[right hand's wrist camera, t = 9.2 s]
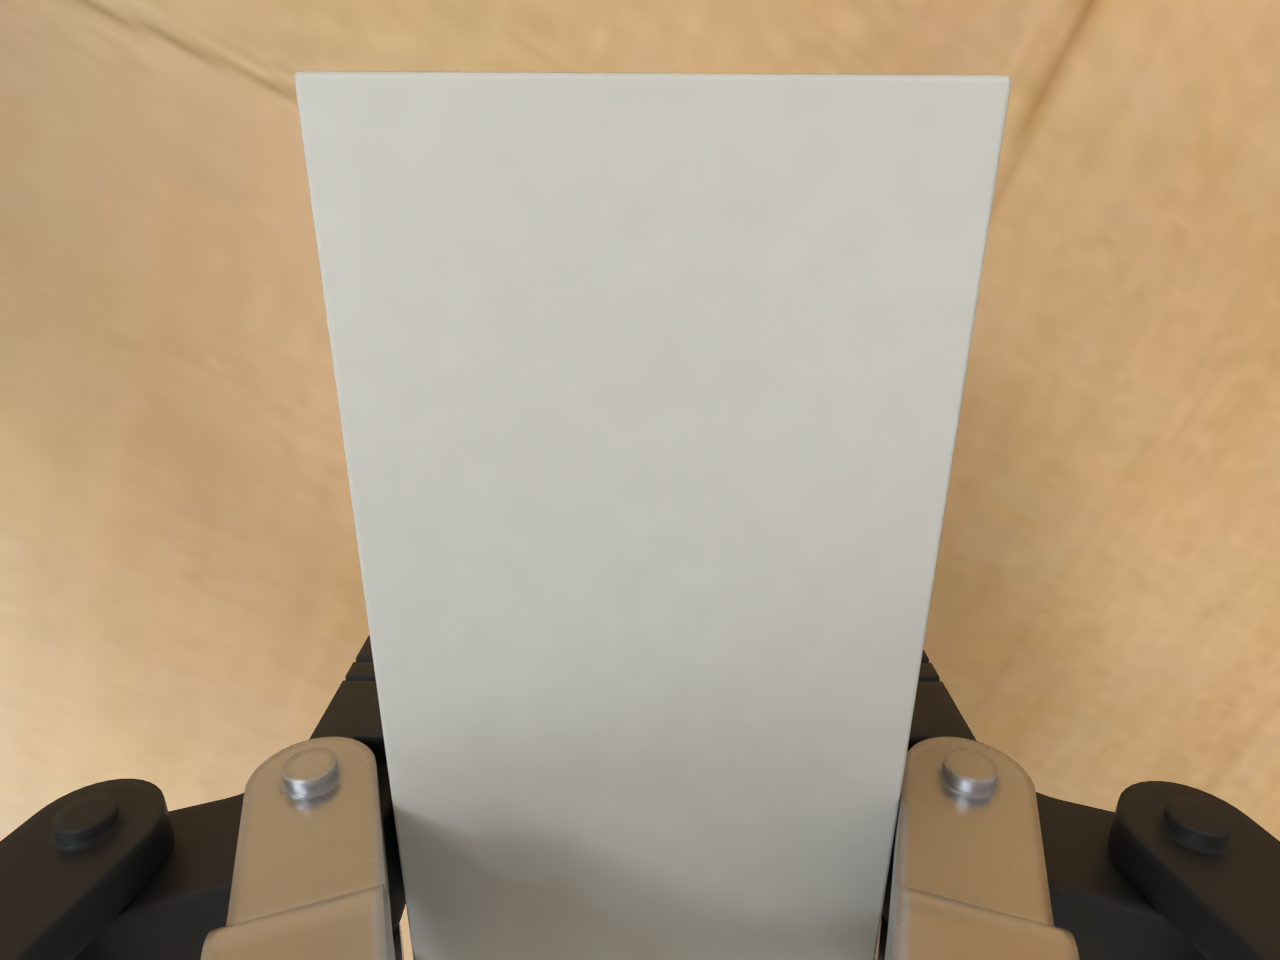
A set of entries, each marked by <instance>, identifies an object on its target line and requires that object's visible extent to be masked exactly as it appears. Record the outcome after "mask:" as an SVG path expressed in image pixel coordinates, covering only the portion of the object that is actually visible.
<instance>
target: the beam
mask: <svg viewBox="0 0 1280 960" xmlns="http://www.w3.org/2000/svg"><path fill="white" fill-rule="evenodd" d="M295 86H296V94H297V101H298V109H299V116H300V123H301V131H302V138H303V146H304V153H305V160H306V168H307V175H308V183H309V190H310V197H311V205H312V212H313V219H314V227H315V234H316V242H317V249H318V256H319V264H320V271H321V279H322V286H323V293H324V301H325V308H326V316H327V323H328V330H329V338H330V345H331V352H332V360H333V367H334V375H335V382H336V389H337V397H338V404H339V412H340V419H341V426H342V434H343V441H344V448H345V456H346V463H347V471H348V478H349V485H350V493H351V500H352V508H353V515H354V522H355V530H356V537H357V545H358V552H359V559H360V567H361V574H362V581H363V589H364V596H365V604H366V611H367V618H368V626H369V633H370V641H371V648H372V655H373V663H374V670H375V678H376V685H377V692H378V700H379V707H380V714H381V722H382V729H383V737H384V744H385V751H386V759H387V766H388V774H389V781H390V788H391V796H392V803H393V811H394V818H395V825H396V833H397V840H398V847H399V855H400V862H401V870H402V877H403V884H404V892H405V899H406V907H407V914H408V921H409V929H410V936H411V944H412V951H413V958H414V960H875V955H876V948H877V942H878V935H879V929H880V922H881V916H882V910H883V903H884V897H885V890H886V884H887V877H888V871H889V865H890V858H891V852H892V845H893V839H894V832H895V826H896V820H897V813H898V807H899V800H900V794H901V787H902V781H903V775H904V768H905V762H906V755H907V749H908V742H909V736H910V729H911V723H912V717H913V710H914V704H915V697H916V691H917V684H918V678H919V672H920V665H921V659H922V652H923V646H924V639H925V633H926V627H927V620H928V614H929V607H930V601H931V594H932V588H933V582H934V575H935V569H936V562H937V556H938V549H939V543H940V537H941V530H942V524H943V517H944V511H945V504H946V498H947V492H948V485H949V479H950V472H951V466H952V459H953V453H954V447H955V440H956V434H957V427H958V421H959V414H960V408H961V401H962V395H963V389H964V382H965V376H966V369H967V363H968V356H969V350H970V344H971V337H972V331H973V324H974V318H975V311H976V305H977V299H978V292H979V286H980V279H981V273H982V266H983V260H984V254H985V247H986V241H987V234H988V228H989V221H990V215H991V209H992V202H993V196H994V189H995V183H996V176H997V170H998V164H999V157H1000V151H1001V144H1002V138H1003V131H1004V125H1005V119H1006V112H1007V106H1008V99H1009V93H1010V86H1011V79H1010V77H1008V76H1006V75H931V74H760V73H588V72H417V71H300V72H298V73H296V74H295Z"/></svg>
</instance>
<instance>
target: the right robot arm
mask: <svg viewBox="0 0 1280 960" xmlns="http://www.w3.org/2000/svg"><path fill="white" fill-rule="evenodd" d="M405 904H406V899H405V892H404V884H403V877H402V870H401V862H400V855H399V847H398V840H397V833H396V825H395V818H394V811H393V803H392V796H391V788H390V781H389V774H388V766H387V759H386V751H385V744H384V737H383V729H382V722H381V714H380V707H379V700H378V692H377V685H376V678H375V670H374V663H373V655H372V648H371V641H370V635H369V636H368V638H367V640H366V642H365V643H364V645H363V647H362V649H361V650H360V652H359V654H358V656H357V657H356V662H353V664H352V666H351V668H350V669H349V671H348V673H347V675H346V680H345V681H343V682H342V683H341V685H340V687H339V689H338V690H337V692H336V694H335V696H334V697H333V699H332V701H331V703H330V704H329V706H328V708H327V710H326V711H325V713H324V715H323V717H322V718H321V720H320V722H319V724H318V725H317V727H316V729H315V731H314V732H313V734H312V736H311V737H310V739H309V740H307V741H303V742H300V743H297V744H294V745H292V746H290V747H287V748H285V749H283V750H281V751H279V752H278V753H276V754H274V755H273V756H271V757H270V758H269V759H267V760H266V761H265V762H263V763H262V764H261V765H260V766H259V767H258V768H257V769H256V770H255V772H254V773H253V774H252V776H251V777H250V779H249V781H248V783H247V785H246V788H245V792H244V793H243V794H240V795H237V796H233V797H230V798H226V799H222V800H218V801H213V802H209V803H205V804H200V805H196V806H191V807H187V808H183V809H178V810H174V811H169V812H168V810H167V806H166V802H165V799H164V796H163V793H162V791H161V790H160V789H159V788H158V787H157V786H156V785H154V784H152V783H150V782H147V781H144V780H138V779H117V780H109V781H104V782H100V783H96V784H93V785H90V786H86V787H83V788H81V789H78V790H76V791H73V792H71V793H69V794H67V795H65V796H63V797H61V798H59V799H57V800H55V801H54V802H52V803H50V804H49V805H47V806H46V807H44V808H43V809H41V810H40V811H39V812H37V813H36V814H35V815H33V816H32V817H31V818H30V819H28V820H27V821H26V822H25V823H23V824H22V825H21V826H19V827H18V828H17V829H16V830H14V831H13V832H12V833H11V834H9V835H8V836H7V837H6V838H4V839H3V840H2V841H0V960H404V953H403V942H402V934H401V927H400V920H401V917H402V914H403V910H404V907H405ZM876 960H1280V841H1278V840H1277V839H1276V838H1275V837H1273V836H1272V835H1271V834H1269V833H1268V832H1267V831H1266V830H1264V829H1263V828H1262V827H1261V826H1259V825H1258V824H1257V823H1256V822H1254V821H1253V820H1252V819H1250V818H1249V817H1248V816H1247V815H1245V814H1244V813H1242V812H1241V811H1240V810H1238V809H1237V808H1235V807H1234V806H1232V805H1230V804H1229V803H1227V802H1225V801H1223V800H1221V799H1219V798H1217V797H1215V796H1213V795H1211V794H1209V793H1206V792H1204V791H1201V790H1199V789H1195V788H1192V787H1189V786H1186V785H1181V784H1177V783H1171V782H1163V781H1147V782H1140V783H1137V784H1134V785H1131V786H1130V787H1128V788H1126V789H1125V790H1124V791H1123V792H1122V793H1121V795H1120V798H1119V800H1118V804H1117V807H1116V811H1115V812H1111V811H1106V810H1102V809H1097V808H1093V807H1089V806H1084V805H1080V804H1075V803H1071V802H1067V801H1062V800H1059V799H1055V798H1051V797H1048V796H1045V795H1043V794H1040V793H1037V792H1035V788H1034V785H1033V783H1032V781H1031V779H1030V777H1029V776H1028V774H1027V773H1026V772H1025V770H1024V769H1023V768H1022V767H1021V766H1020V765H1019V764H1018V763H1017V762H1015V761H1014V760H1013V759H1011V758H1010V757H1009V756H1007V755H1005V754H1004V753H1002V752H1001V751H999V750H997V749H995V748H993V747H990V746H988V745H986V744H983V743H980V742H977V741H976V739H975V737H974V736H973V734H972V732H971V731H970V729H969V727H968V725H967V724H966V722H965V720H964V719H963V717H962V715H961V713H960V712H959V710H958V708H957V707H956V705H955V703H954V701H953V700H952V698H951V696H950V694H949V693H948V691H947V689H946V688H945V686H944V684H943V682H940V681H939V676H938V674H937V672H936V670H935V669H934V667H933V665H932V664H931V663H929V658H928V657H927V655H926V653H925V652H924V650H923V652H922V659H921V665H920V672H919V678H918V684H917V691H916V697H915V704H914V710H913V717H912V723H911V729H910V736H909V742H908V749H907V755H906V762H905V768H904V775H903V781H902V787H901V794H900V800H899V807H898V813H897V820H896V826H895V832H894V839H893V845H892V852H891V858H890V865H889V871H888V877H887V884H886V890H885V897H884V903H883V910H882V916H881V922H880V929H879V935H878V942H877V953H876Z"/></svg>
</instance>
